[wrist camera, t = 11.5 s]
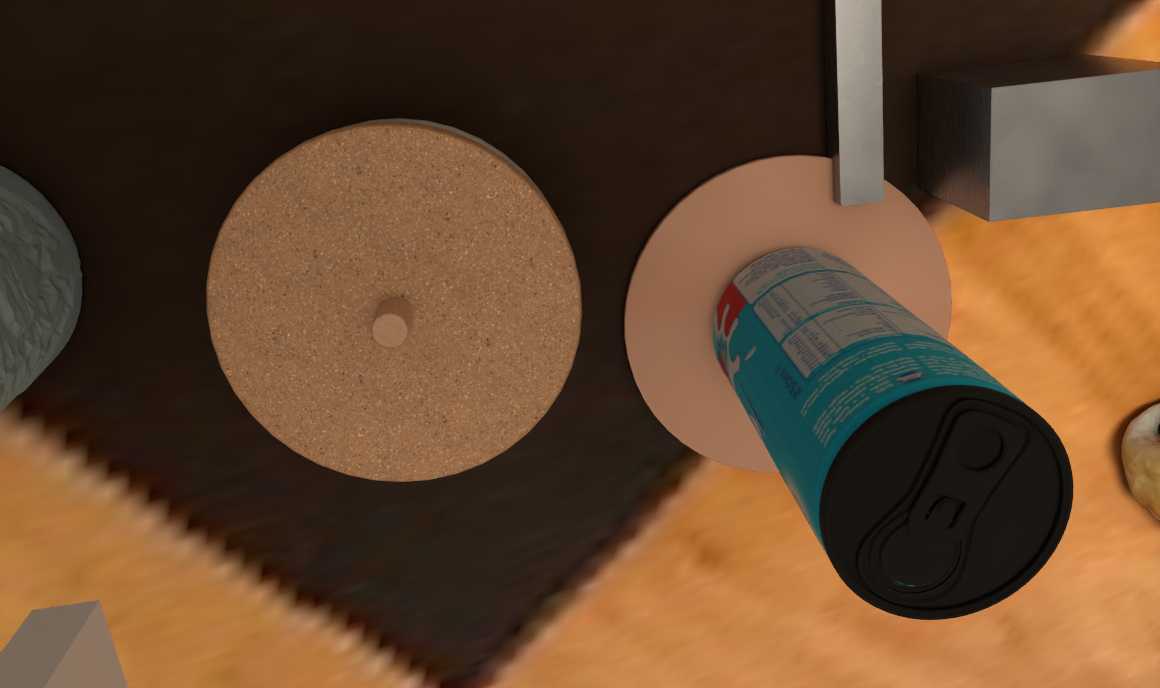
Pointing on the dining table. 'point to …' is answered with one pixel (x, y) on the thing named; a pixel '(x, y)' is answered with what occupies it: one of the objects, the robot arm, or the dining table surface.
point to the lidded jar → (394, 300)
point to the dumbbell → (996, 127)
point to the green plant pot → (33, 285)
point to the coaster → (727, 245)
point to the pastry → (1144, 458)
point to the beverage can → (891, 438)
